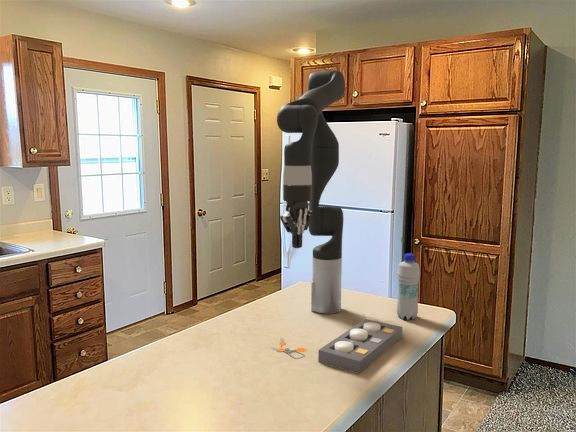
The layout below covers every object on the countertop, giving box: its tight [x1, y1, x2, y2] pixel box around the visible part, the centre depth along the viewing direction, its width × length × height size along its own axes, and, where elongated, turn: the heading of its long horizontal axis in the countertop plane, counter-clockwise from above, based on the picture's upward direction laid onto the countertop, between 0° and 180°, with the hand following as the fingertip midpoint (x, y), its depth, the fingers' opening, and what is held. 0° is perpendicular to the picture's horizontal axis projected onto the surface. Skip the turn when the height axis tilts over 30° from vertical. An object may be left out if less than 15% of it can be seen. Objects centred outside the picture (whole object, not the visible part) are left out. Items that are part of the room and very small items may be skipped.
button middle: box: [350, 329, 368, 343], centre depth 124 cm, size 5×5×2 cm
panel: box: [317, 318, 403, 374], centre depth 124 cm, size 26×11×3 cm, turn 145°
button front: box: [335, 341, 354, 354], centre depth 118 cm, size 5×5×2 cm
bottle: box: [396, 252, 421, 321], centre depth 146 cm, size 7×7×20 cm
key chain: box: [270, 337, 307, 360], centre depth 124 cm, size 13×7×1 cm, turn 41°
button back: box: [363, 322, 381, 333], centre depth 131 cm, size 5×5×2 cm
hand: (297, 247), depth 128 cm, fingers closed
